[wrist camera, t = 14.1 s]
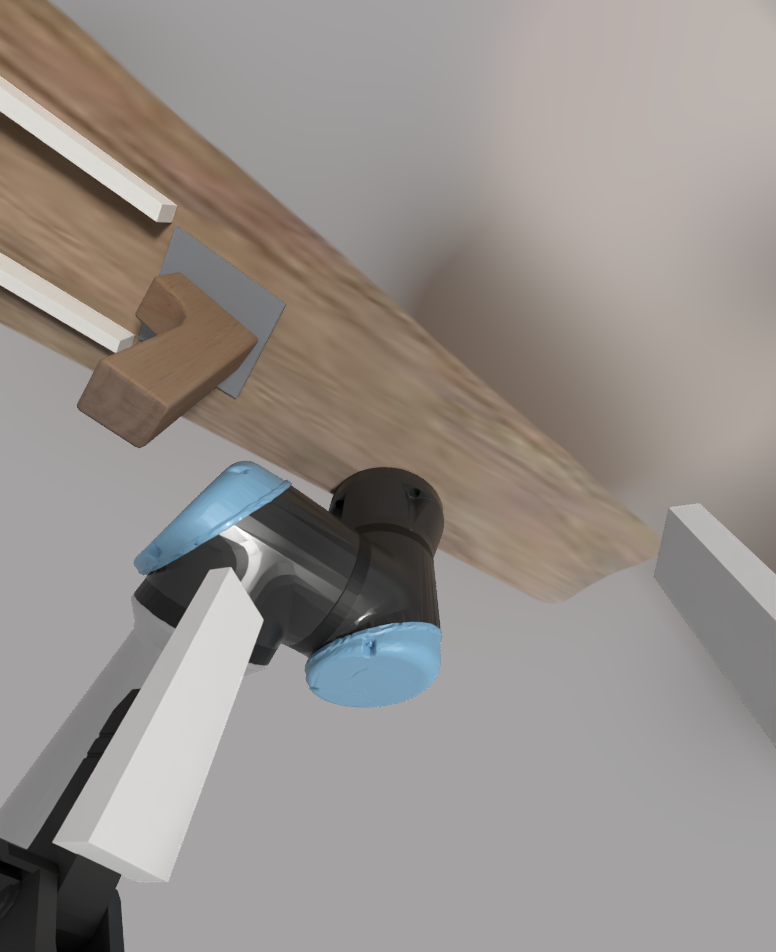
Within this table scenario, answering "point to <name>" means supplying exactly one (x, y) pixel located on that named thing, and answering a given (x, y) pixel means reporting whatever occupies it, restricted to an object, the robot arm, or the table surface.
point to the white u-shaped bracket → (105, 171)
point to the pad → (224, 297)
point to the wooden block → (166, 362)
